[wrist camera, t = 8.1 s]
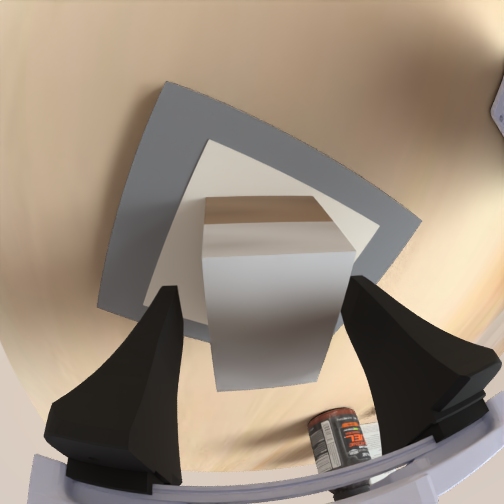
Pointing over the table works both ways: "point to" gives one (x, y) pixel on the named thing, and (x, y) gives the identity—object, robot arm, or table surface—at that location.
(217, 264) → the block
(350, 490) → the supplement bottle
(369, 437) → the small box
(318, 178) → the stand
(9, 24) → the table surface
